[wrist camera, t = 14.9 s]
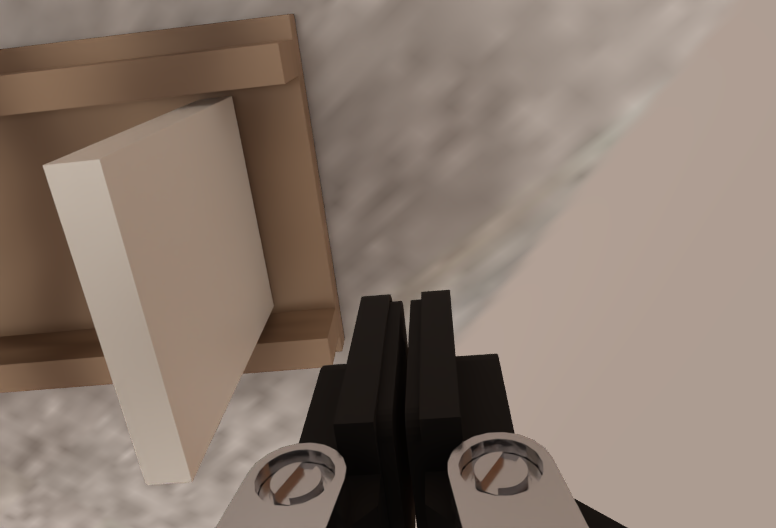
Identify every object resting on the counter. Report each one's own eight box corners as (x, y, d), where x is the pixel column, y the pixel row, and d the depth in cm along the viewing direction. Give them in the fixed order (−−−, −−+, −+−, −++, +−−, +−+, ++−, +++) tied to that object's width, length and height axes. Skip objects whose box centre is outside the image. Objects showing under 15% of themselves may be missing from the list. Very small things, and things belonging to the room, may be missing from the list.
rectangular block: (244, 308, 25) (146, 485, 16) (198, 99, 22) (42, 165, 13) (273, 306, 25) (192, 482, 16) (231, 96, 22) (99, 159, 13)
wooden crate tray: (-135, 378, 28) (-268, 468, 23) (-281, 83, 23) (-496, 106, 18) (344, 339, 27) (327, 425, 21) (293, 13, 22) (253, 15, 16)
